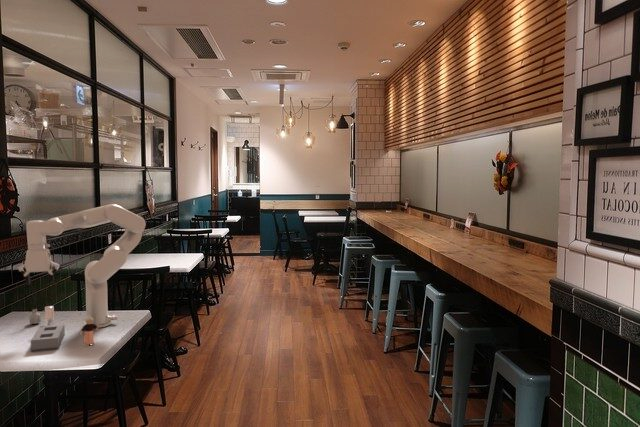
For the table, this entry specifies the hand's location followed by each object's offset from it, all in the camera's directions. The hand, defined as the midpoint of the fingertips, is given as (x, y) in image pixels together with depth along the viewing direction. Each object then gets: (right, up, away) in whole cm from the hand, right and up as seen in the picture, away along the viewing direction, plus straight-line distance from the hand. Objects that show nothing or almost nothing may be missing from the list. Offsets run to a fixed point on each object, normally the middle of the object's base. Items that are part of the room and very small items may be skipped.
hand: (40, 283), depth 228 cm
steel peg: (+3, -23, +2) cm, 23 cm away
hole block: (+11, -24, -13) cm, 30 cm away
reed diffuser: (-12, -22, +15) cm, 29 cm away
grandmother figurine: (+30, -25, -15) cm, 42 cm away
